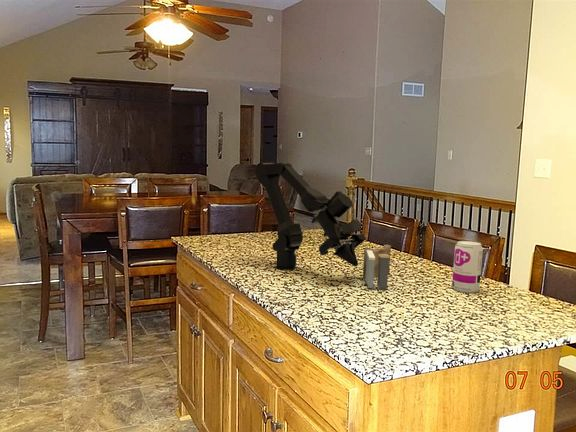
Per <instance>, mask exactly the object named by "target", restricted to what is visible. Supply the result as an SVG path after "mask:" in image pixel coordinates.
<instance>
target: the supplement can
mask: <svg viewBox="0 0 576 432" xmlns="http://www.w3.org/2000/svg"><path fill="white" fill-rule="evenodd" d="M483 253H484V248H483V246H482V243H481V242H478V241H470V240H458V241H457V243H456V244H455V246H454V255H453V268H452V270H453V271H452V282H451V286H452V288H453V290H454V291H456V292H461V293H469V294H470V293H471V294H472V293H473V294H475V293H477V292H478V291H479V290H480V288H481V287H480V285H481V276H482V275H481V274H482V267H483V266H482V264H483Z"/></svg>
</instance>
